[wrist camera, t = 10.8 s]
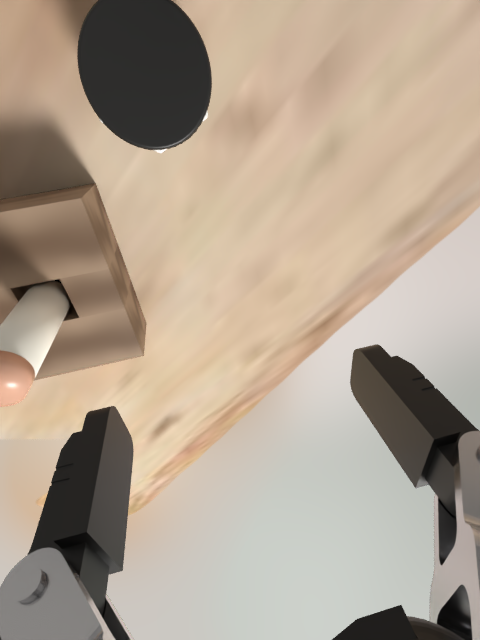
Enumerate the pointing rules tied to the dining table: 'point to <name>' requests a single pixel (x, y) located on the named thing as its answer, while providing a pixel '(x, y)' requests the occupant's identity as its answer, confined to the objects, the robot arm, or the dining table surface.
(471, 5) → the dining table surface
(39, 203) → the socket block
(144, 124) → the jar
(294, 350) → the dining table surface
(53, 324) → the plug
